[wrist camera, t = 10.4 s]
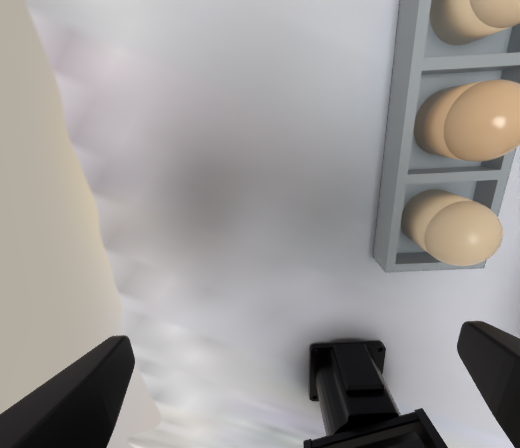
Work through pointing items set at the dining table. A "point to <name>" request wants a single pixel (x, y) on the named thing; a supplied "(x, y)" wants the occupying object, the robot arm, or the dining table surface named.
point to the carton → (438, 167)
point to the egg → (471, 121)
